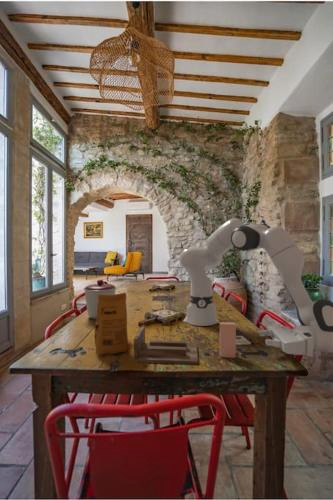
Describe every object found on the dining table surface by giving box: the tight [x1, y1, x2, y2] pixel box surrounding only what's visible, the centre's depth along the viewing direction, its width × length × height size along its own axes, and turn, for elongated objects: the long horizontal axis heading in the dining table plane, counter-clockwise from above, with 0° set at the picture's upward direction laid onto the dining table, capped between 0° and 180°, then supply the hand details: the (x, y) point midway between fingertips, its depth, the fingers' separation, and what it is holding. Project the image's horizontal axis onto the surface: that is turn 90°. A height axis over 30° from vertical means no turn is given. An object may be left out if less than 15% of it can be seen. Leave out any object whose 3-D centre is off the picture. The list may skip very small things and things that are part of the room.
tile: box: [219, 321, 237, 359], centre depth 101 cm, size 2×6×12 cm, turn 85°
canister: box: [83, 279, 117, 320], centre depth 156 cm, size 18×18×21 cm
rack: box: [133, 325, 199, 365], centre depth 103 cm, size 16×22×8 cm
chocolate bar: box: [218, 329, 255, 346], centre depth 122 cm, size 9×1×18 cm
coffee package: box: [94, 292, 129, 356], centre depth 107 cm, size 10×12×22 cm
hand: (262, 337), depth 100 cm, fingers open, 8 cm apart
